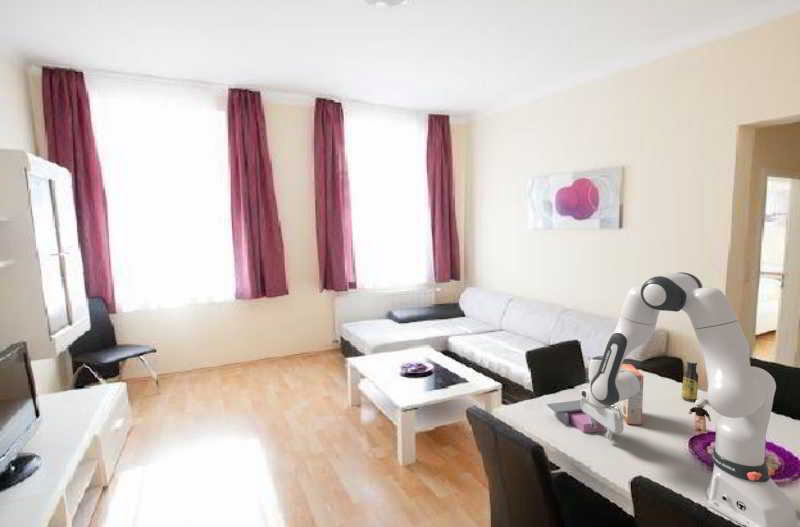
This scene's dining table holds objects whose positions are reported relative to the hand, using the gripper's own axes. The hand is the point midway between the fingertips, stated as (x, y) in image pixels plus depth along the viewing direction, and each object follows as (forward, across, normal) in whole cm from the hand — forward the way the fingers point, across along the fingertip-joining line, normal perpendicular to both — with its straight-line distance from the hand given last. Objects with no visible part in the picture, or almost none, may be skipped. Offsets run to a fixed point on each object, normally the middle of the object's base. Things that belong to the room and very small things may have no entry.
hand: (601, 432), depth 159 cm
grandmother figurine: (+2, -4, -40) cm, 40 cm away
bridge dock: (+2, +16, 0) cm, 16 cm away
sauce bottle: (+2, +20, -60) cm, 63 cm away
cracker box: (+2, +12, -22) cm, 25 cm away
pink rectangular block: (+2, +12, 0) cm, 13 cm away
